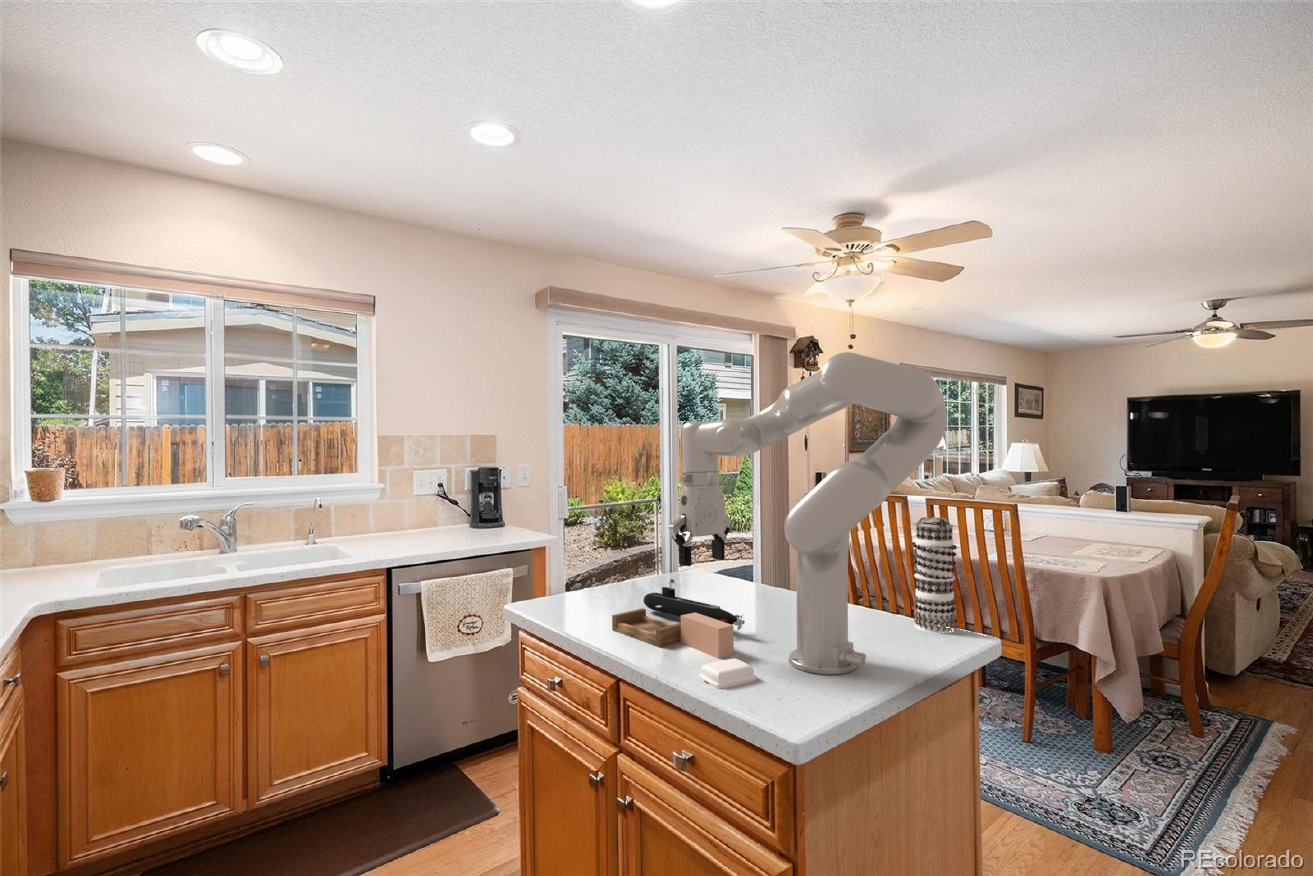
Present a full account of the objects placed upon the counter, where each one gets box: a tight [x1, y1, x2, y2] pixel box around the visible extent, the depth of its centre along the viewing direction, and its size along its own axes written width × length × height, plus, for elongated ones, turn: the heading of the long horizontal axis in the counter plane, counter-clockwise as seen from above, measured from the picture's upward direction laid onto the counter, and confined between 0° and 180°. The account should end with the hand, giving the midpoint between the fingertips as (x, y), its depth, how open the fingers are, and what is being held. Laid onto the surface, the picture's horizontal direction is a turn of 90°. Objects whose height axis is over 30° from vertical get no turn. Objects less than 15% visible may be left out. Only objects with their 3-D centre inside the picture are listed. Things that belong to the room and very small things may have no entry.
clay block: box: [680, 613, 735, 660], centre depth 130 cm, size 12×4×6 cm, turn 36°
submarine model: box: [643, 578, 746, 631], centre depth 148 cm, size 31×7×10 cm, turn 43°
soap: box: [698, 658, 757, 690], centre depth 114 cm, size 9×7×3 cm
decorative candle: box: [911, 516, 958, 634], centre depth 143 cm, size 9×9×25 cm
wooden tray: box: [611, 607, 681, 648], centre depth 140 cm, size 16×9×4 cm, turn 42°
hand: (702, 562), depth 133 cm, fingers open, 9 cm apart
